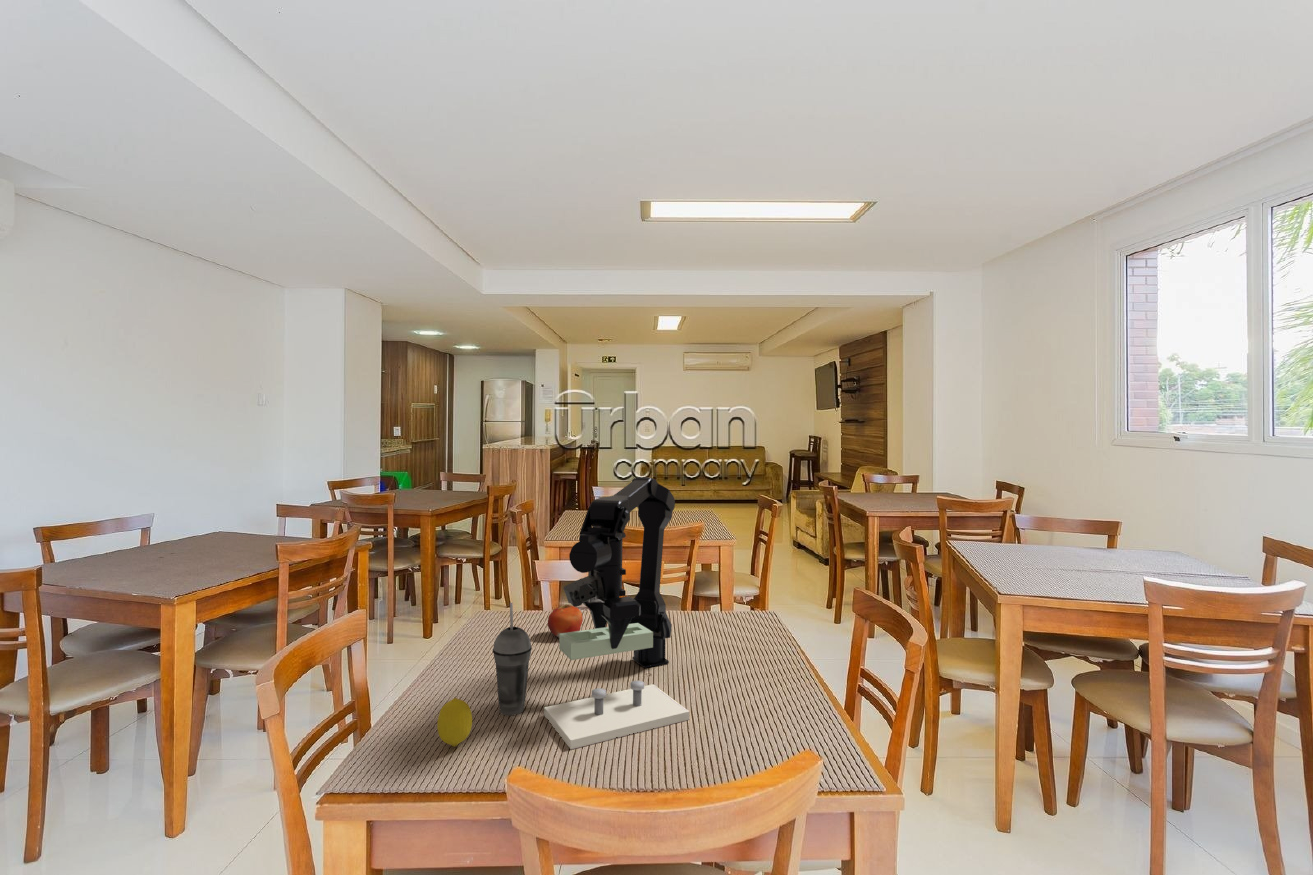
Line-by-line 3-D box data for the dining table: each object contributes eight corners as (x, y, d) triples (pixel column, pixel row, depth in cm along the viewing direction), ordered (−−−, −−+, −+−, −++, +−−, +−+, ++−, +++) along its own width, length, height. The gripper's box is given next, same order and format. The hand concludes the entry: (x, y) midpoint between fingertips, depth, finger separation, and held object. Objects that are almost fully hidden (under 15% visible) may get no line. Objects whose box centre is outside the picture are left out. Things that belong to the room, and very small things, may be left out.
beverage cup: (496, 722, 109) (497, 611, 109) (488, 706, 115) (489, 601, 115) (536, 714, 112) (537, 606, 112) (525, 699, 119) (526, 597, 119)
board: (653, 691, 123) (653, 664, 123) (689, 719, 110) (689, 689, 110) (544, 715, 112) (544, 685, 112) (570, 749, 99) (571, 716, 99)
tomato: (580, 641, 153) (580, 610, 153) (544, 641, 153) (544, 610, 153) (585, 630, 162) (585, 600, 162) (551, 630, 162) (551, 600, 162)
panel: (637, 637, 125) (637, 622, 125) (652, 647, 119) (653, 632, 119) (559, 648, 118) (559, 633, 118) (571, 660, 111) (571, 644, 111)
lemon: (442, 738, 103) (442, 691, 103) (475, 737, 103) (475, 691, 103) (432, 755, 97) (433, 706, 97) (467, 754, 98) (468, 705, 98)
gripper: (553, 558, 123) (552, 635, 123) (585, 576, 107) (584, 664, 106) (604, 554, 128) (603, 628, 128) (642, 570, 112) (641, 655, 111)
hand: (606, 642), depth 118 cm, fingers closed on panel, 7 cm apart
